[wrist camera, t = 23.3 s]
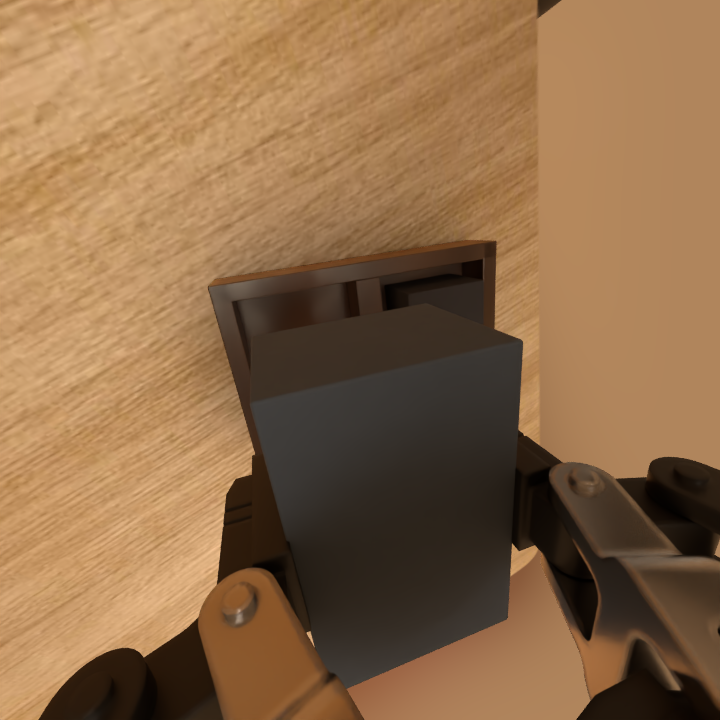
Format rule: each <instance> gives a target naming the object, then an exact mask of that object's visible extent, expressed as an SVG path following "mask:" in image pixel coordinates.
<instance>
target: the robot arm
mask: <svg viewBox="0 0 720 720" xmlns="http://www.w3.org/2000/svg"><path fill="white" fill-rule="evenodd" d="M223 524H224V527H223V532H222V542H221V552H220V561H219V571H218V581H217V585H216V586H215V588H214V589H213V590H212V591H211V592H210V594H209V595H208V596H207V598H206V600H205V601H204V603H203V605H202V608H201V610H200V614H199V617H198V618H197V619H196V620H195V621H194V622H193V623H192V624H191V625H190V626H189V627H188V628H187V629H185V630H184V631H183V632H181V633H180V634H178V635H177V636H175V637H174V638H172V639H171V640H170V641H168V642H167V643H165V644H164V645H162V646H161V647H159V648H158V649H156V650H155V651H153V652H152V653H150V654H149V655H147V656H146V657H144V658H143V656H142V655H141V654H140V653H139V652H138V651H136V650H134V649H131V648H120V649H115V650H112V651H109V652H106V653H104V654H102V655H100V656H98V657H96V658H95V659H93V660H92V661H90V662H89V663H87V664H86V665H85V666H83V667H82V668H81V669H79V670H78V671H77V672H76V673H75V674H74V675H73V676H72V677H71V678H69V679H68V681H67V682H66V683H65V684H64V685H63V686H62V687H61V688H60V689H59V691H58V692H57V693H56V694H55V696H54V697H53V698H52V700H51V701H50V703H49V704H48V706H47V707H46V708H45V710H44V712H43V713H42V715H41V717H40V718H39V720H364V718H363V717H362V715H361V713H360V711H359V710H358V708H357V706H356V705H355V703H354V701H353V700H352V698H351V696H350V695H349V693H348V691H347V689H346V688H345V686H344V685H343V683H342V682H341V680H340V679H339V678H338V676H337V675H336V674H335V673H333V672H332V673H330V672H329V671H328V670H327V668H326V667H325V665H324V663H323V662H322V660H321V658H320V656H319V655H318V653H317V651H316V649H315V648H314V646H313V644H312V642H311V641H310V639H309V637H308V635H307V632H309V631H311V624H310V618H309V614H308V610H307V606H306V603H305V599H304V595H303V591H302V588H301V584H300V580H299V576H298V572H297V569H296V565H295V561H294V557H293V553H292V550H291V546H290V542H289V541H287V540H286V538H285V534H284V531H283V527H282V523H281V519H280V516H279V512H278V508H277V504H276V501H275V497H274V493H273V490H272V486H271V482H270V478H269V475H268V471H267V467H266V464H265V460H264V456H263V453H260V454H256V455H253V456H252V475H249V476H245V477H242V478H238V479H236V480H235V481H234V483H233V485H232V486H231V488H230V489H229V491H228V493H227V494H226V503H225V513H224V523H223ZM719 540H720V470H718V469H715V468H712V467H710V466H707V465H705V464H702V463H699V462H696V461H693V460H689V459H684V458H678V457H662V458H658V459H655V460H653V461H652V462H651V463H650V466H649V470H648V474H647V477H645V478H644V477H643V478H624V479H623V478H622V479H615V478H613V477H612V476H611V475H610V474H608V473H607V472H605V471H603V470H601V469H599V468H597V467H594V466H591V465H588V464H583V463H576V462H567V463H563V462H561V461H560V460H559V459H557V458H556V457H554V456H553V455H552V454H550V453H549V452H548V451H546V450H545V449H543V448H542V447H541V446H539V445H538V444H537V443H535V442H534V441H533V440H531V439H530V438H528V437H527V436H524V435H523V433H522V432H520V431H519V430H518V442H517V460H516V470H515V488H514V506H513V524H512V543H513V545H514V546H515V547H516V548H517V549H518V550H519V551H521V550H523V549H526V548H529V547H531V546H534V545H535V546H536V547H537V548H538V549H539V550H540V551H541V566H542V569H543V571H544V574H545V576H546V578H547V580H548V583H549V585H550V587H551V589H552V592H553V594H554V596H555V598H556V600H557V603H558V605H559V607H560V609H561V612H562V614H563V616H564V618H565V621H566V623H567V625H568V627H569V630H570V632H571V634H572V636H573V638H574V640H575V643H576V645H577V648H578V650H579V653H580V656H581V659H582V664H583V669H584V677H585V682H586V686H587V690H588V694H589V697H590V700H591V701H590V702H589V704H588V705H587V706H586V708H585V709H584V710H583V712H582V713H581V714H580V716H579V717H578V718H577V720H720V558H719V557H717V556H716V555H714V554H715V551H716V548H717V545H718V542H719Z"/></svg>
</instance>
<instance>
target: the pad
mask: <svg viewBox="0 0 720 720" xmlns="http://www.w3.org/2000/svg"><path fill="white" fill-rule="evenodd" d="M522 353H523V341H522V340H521V339H518V338H515V337H513V336H510V335H508V334H505V333H502V332H500V331H497V330H495V329H492V328H489V327H487V326H484V325H482V324H479V323H476V322H474V321H471V320H469V319H466V318H463V317H461V316H458V315H456V314H453V313H450V312H448V311H445V310H443V309H440V308H437V307H435V306H432V305H430V304H427V303H425V304H420V305H414V306H409V307H404V308H399V309H393V310H388V311H383V312H378V313H372V314H367V315H362V316H357V317H351V318H346V319H341V320H336V321H330V322H325V323H320V324H315V325H309V326H304V327H299V328H294V329H288V330H283V331H278V332H273V333H267V334H262V335H257V336H253V337H252V338H251V377H250V408H251V411H252V415H253V419H254V423H255V426H256V430H257V434H258V438H259V441H260V445H261V449H262V452H263V456H264V460H265V464H266V467H267V471H268V475H269V478H270V482H271V486H272V490H273V493H274V497H275V501H276V504H277V508H278V512H279V516H280V519H281V523H282V527H283V531H284V534H285V538H286V540H287V541H289V542H290V546H291V550H292V553H293V557H294V561H295V565H296V569H297V572H298V576H299V580H300V584H301V588H302V591H303V595H304V599H305V603H306V606H307V610H308V614H309V618H310V624H311V635H312V638H313V642H314V646H315V649H316V651H317V653H318V655H319V656H320V658H321V660H322V662H323V663H324V665H325V667H326V668H327V670H328V671H329V672H330V673H332V672H333V673H335V674H336V675H337V676H338V678H339V679H340V680H341V682H342V683H343V685H344V686H345V688H346V689H347V688H349V687H352V686H354V685H356V684H359V683H361V682H363V681H366V680H368V679H370V678H372V677H375V676H377V675H379V674H382V673H384V672H386V671H389V670H391V669H393V668H396V667H398V666H400V665H402V664H405V663H407V662H410V661H412V660H414V659H416V658H419V657H421V656H423V655H426V654H428V653H430V652H433V651H435V650H437V649H440V648H442V647H444V646H446V645H449V644H451V643H453V642H456V641H458V640H460V639H463V638H465V637H467V636H470V635H472V634H474V633H476V632H479V631H481V630H483V629H486V628H488V627H490V626H493V625H495V624H497V623H500V622H502V621H504V620H506V619H507V618H508V602H509V586H510V568H511V550H512V524H513V506H514V488H515V470H516V460H517V442H518V424H519V406H520V388H521V371H522Z"/></svg>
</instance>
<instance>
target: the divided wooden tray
mask: <svg viewBox="0 0 720 720" xmlns="http://www.w3.org/2000/svg"><path fill="white" fill-rule="evenodd" d="M445 274H455V275H460V276H466V277H471V278H476V279H481V280H484V326H487V327H489V328H492V329H494V323H495V275H496V241H483V240H464V241H457V242H451V243H444V244H438V245H432V246H425V247H419V248H412V249H406V250H399V251H393V252H387V253H380V254H374V255H367V256H361V257H355V258H348V259H342V260H335V261H329V262H322V263H316V264H310V265H303V266H297V267H290V268H284V269H277V270H271V271H265V272H258V273H252V274H245V275H239V276H233V277H226V278H220V279H215V280H214V281H213V282H212V283H211V284H210V285H209V286H208V290H209V293H210V297H211V300H212V304H213V307H214V311H215V314H216V318H217V321H218V325H219V328H220V332H221V335H222V339H223V342H224V346H225V349H226V353H227V356H228V360H229V364H230V367H231V371H232V374H233V378H234V381H235V385H236V388H237V392H238V395H239V399H240V402H241V406H242V409H243V413H244V416H245V420H246V423H247V427H248V430H249V434H250V437H251V441H252V444H253V448H254V451H255V455H256V454H260V453H263V452H262V449H261V445H260V441H259V438H258V434H257V430H256V426H255V423H254V419H253V415H252V411H251V408H250V377H251V338H252V337H253V336H257V335H262V334H267V333H273V332H278V331H283V330H288V329H294V328H299V327H304V326H309V325H315V324H320V323H325V322H330V321H336V320H341V319H346V318H351V317H357V316H362V315H367V314H372V313H378V312H383V311H387V303H386V293H385V285H389V284H394V283H400V282H406V281H411V280H417V279H422V278H428V277H433V276H439V275H445Z"/></svg>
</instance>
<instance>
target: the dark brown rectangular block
mask: <svg viewBox="0 0 720 720" xmlns="http://www.w3.org/2000/svg"><path fill="white" fill-rule="evenodd" d="M385 293H386V303H387V311H388V310H393V309H399V308H404V307H409V306H414V305H420V304H425V303H427V304H430V305H432V306H435V307H437V308H440V309H443V310H445V311H448V312H450V313H453V314H456V315H458V316H461V317H463V318H466V319H469V320H471V321H474V322H476V323H479V324H482V325H484V280H481V279H476V278H471V277H466V276H460V275H455V274H445V275H439V276H433V277H428V278H422V279H417V280H411V281H406V282H400V283H394V284H389V285H385Z"/></svg>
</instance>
